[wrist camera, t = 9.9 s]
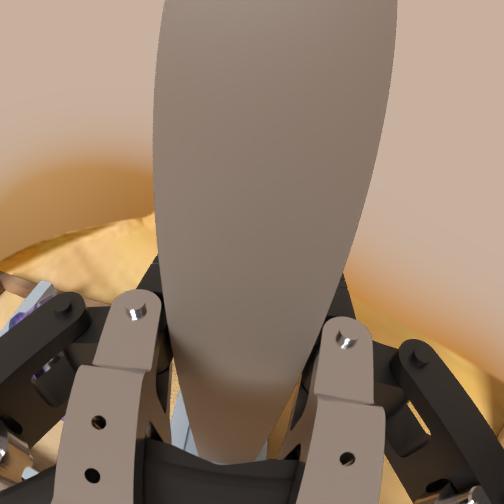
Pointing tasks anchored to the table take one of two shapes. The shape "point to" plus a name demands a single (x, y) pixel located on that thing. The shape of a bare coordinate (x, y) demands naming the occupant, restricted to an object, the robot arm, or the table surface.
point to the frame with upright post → (257, 197)
